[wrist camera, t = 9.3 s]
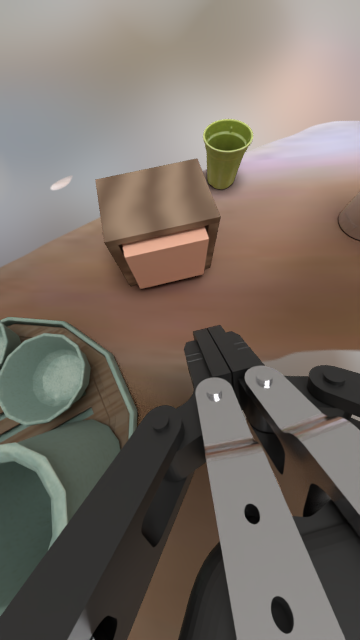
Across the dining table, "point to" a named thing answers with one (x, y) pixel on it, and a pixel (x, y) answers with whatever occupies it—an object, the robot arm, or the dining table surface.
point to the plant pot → (225, 150)
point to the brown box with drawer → (155, 207)
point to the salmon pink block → (167, 257)
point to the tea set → (52, 435)
